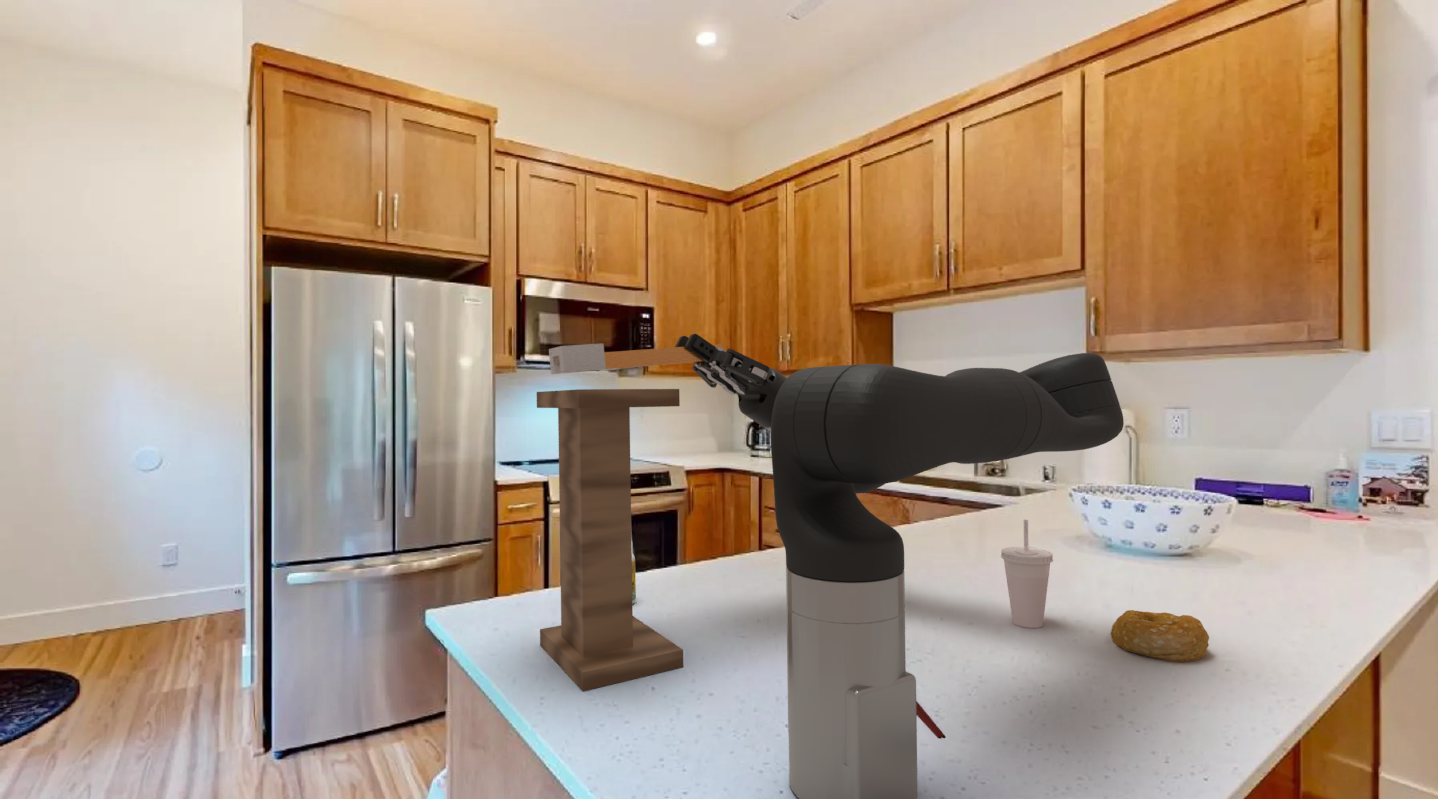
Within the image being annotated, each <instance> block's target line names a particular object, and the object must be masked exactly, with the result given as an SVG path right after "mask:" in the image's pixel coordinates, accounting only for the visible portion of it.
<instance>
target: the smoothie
mask: <svg viewBox="0 0 1438 799" xmlns="http://www.w3.org/2000/svg"><path fill="white" fill-rule="evenodd" d="M1000 552H1001V554H1000V558H1001V559H1003V563H1004V570H1005V578H1006V585H1007V590H1008V598H1009V605H1010V612H1011V618H1012V623H1013V624H1014V625H1016V626H1018V627H1023V628H1026V629H1028V628H1029V629H1037V628H1041V627H1043V626H1044V619H1045V611H1046V603H1047V595H1048V594H1047V593H1048V584H1049V577H1050V567H1051V563H1053V562H1054V559H1053V556H1054V555H1053V553H1052V551H1050V550H1047V549H1044V548H1038V547H1032V546H1029V520H1028V519H1023V546H1009V547H1008V546H1007V547H1004V548H1002V549H1001V551H1000Z"/></svg>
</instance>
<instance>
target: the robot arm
mask: <svg viewBox="0 0 1438 799" xmlns="http://www.w3.org/2000/svg"><path fill="white" fill-rule="evenodd" d="M689 335H690V336H689V337H688V336H687V335H682V336H679V338H678V340H677V341H676V344H675V346H674V347H686V348H687V349H688V350H689V351H691V352H692V353H694V354H695V355H697V356H698V357H700V358H701V359H703V360H704V361H700V362H693V366H692V370H693V371H694V373H696V374H697V375H698V376H699V377H700V378H701V379H702V380H703V381H704V382H705V383H706V384H707V385H708V386H709V387H710V388H713V389H715V388H717V385H718V386H720V387H722V389H723V391H725V392H727V393H729V394H730V395H737V397H738V408H739V411H740V412H741V413H742V414H743V415H744V416H746V417H748V418H749V419H750V420H752V421H754V422H755V423H757V424H759V425H760V426H762V427H763V428H765V429H766V430H768V431H769V432H770V448H771V464H772V467H771V468H772V479H773V480H772V482H773V490H774V491H773V494H774V496H773V497H774V512H775V520H776V527H777V531H778V533H779V537H780V538H781V540H782V544H783V546H784V551H785V565H786V567H785V573H786V574H785V577H786V579H785V581H786V582H785V583H786V584H785V586H786V595H785V596H786V655H787V656H786V657H787V659H786V662H787V664H786V667H787V670H786V673H787V676H786V678H787V728H788V730H787V731H788V732H787V733H788V768H789V770H788V773H789V774H788V776H789V777H788V778H789V779H788V780H789V785H790V788H791V790H792V792H793V793H794V795H795V796H796V798H798V799H919V798H918V796H919V795H918V793H919V791H918V739H917V738H918V735H917V734H918V733H917V732H918V730H917V728H918V726H917V717H918V716H917V715H916V701H917V678H916V676H915V675H914V674H913V673H910V672H909V671H907V669H906V666H907V664H906V663H907V662H906V614H905V613H906V610H905V609H906V600H905V599H906V597H905V596H906V594H905V590H906V589H905V586H906V585H905V582H906V581H905V545H904V541H903V538H902V536H901V534H900V532H898V531H897V530H896V529H895V528H894V527H893V526H891V525H889V524H888V523H886V522H884V521H883V520H881V519H880V518H879V517H877V516H875V515H874V514H873V513H872V512H870V511H869V509H868V508H867V507H866V506H865V505H864V504H863V503H862V502H861V500H860V499H859V497H858V496H857V494H858V495H859V494H865V493H869V492H872V491H874V490H876V489H878V488H881V487H882V486H884V485H886V484H891V483H895V482H899V481H903V480H904V479H908V478H911V477H913V476H916V475H919V474H921V473H924V472H926V471H929V470H932V469H935V468H938V467H941V466H944V465H947V464H953V463H957V464H961V465H964V464H965V465H971V464H986V463H991V462H998V461H1004V460H1005V461H1006V460H1009V459H1013V458H1018V457H1022V456H1027V455H1031V454H1035V453H1044V452H1045V453H1046V452H1047V453H1048V452H1049V453H1050V452H1054V453H1055V452H1056V453H1057V452H1059V453H1060V452H1074V451H1075V452H1076V451H1083V450H1088V449H1093V448H1096V447H1099V446H1102V445H1105V444H1106V443H1109V442H1112V441H1113V440H1114V439H1115V438H1117V437H1118V436H1119V434H1121V433H1122V431H1123V429H1124V421H1125V420H1124V415H1123V410H1122V408H1121V407H1122V406H1121V405H1120V401H1119V398H1118V395H1117V392H1116V390H1115V386H1114V384H1113V381H1112V377H1111V375H1110V372H1109V369H1108V366H1107V364H1106V361H1105V359H1104V358H1103V357H1102V356H1101V355H1099V354H1097V353H1090V352H1081V353H1074V354H1068V355H1065V356H1060V357H1057V358H1056V357H1055V358H1054V359H1051V360H1048V361H1044V362H1042V363H1039V364H1037V365H1034V366H1031V367H1029V368H1027V369H1025V370H1022V371H1020V372H1019V371H1017V370H1014V369H1009V368H1003V367H1000V368H999V367H996V368H995V367H971V368H963V369H958V370H954V371H952V372H950V373H948V374H946V375H945V376H944V375H937V374H932V373H926V372H922V371H917V370H912V369H908V368H903V367H899V366H894V365H888V364H880V363H861V364H845V365H831V366H830V365H827V366H814V367H806V368H802V369H799V370H796V371H795V372H793V373H792V374H790V375H789V376H788V377H786V376H785V375H784V374H782V373H781V372H779V371H778V370H776V369H775V368H773V367H770V366H767V365H766V364H764V363H761V362H759V361H757V360H755V359H753V358H751V357H749V356H746V355H745V354H743V353H740V352H738V351H736V350H735V349H733V348H727V349H726V350H725V349H724V347H723V348H721V347H717V348H716V347H715V346H713V345H714V344H712V343H711V342H709V341H707V340H706V339H705V338H703V337H702V336H701V335H699V334H698V333H692V334H689Z"/></svg>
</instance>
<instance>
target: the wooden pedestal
mask: <svg viewBox="0 0 1438 799" xmlns="http://www.w3.org/2000/svg"><path fill="white" fill-rule="evenodd" d="M680 401H681V400H680V388H624V389H623V388H621V389H620V388H618V389H617V388H616V389H615V388H614V389H612V388H610V389H605V388H602V389H598V388H596V389H593V388H592V389H586V388H585V389H581V388H580V389H578V388H577V389H565V390H563V389H562V390H548V391H547V390H545V391H536V408H538V409H557V410H558V411H557V415H558V416H557V417H558V418H557V419H558V420H557V424H558V429H557V430H558V484H559V486H558V488H559V493H558V494H559V498H558V499H559V552H560V553H559V556H560V557H559V561H560V562H559V563H560V566H559V567H560V568H559V569H560V620H561V622H560V625H556V626H551V627H544V628H540V629H539V642H540V643H539V646H540V647H541V648H543V650H544V651H545V652H546V653H547V654H548V655H549V656H550V658H551V659H553V661H554V662H555V663H556V664H557V665H558V666H559V668H560V669H562V670H563V672H564V673H565V674H566V675H567V676H568V677H569V678H570V679H571V680H572V681H573V682H574V683H575V685H576V686H577V687H578V688H579V689H580V690H581V691H582V692H586V691H590V690H593V689H599V688H602V687H607V686H610V685H615V684H618V683H623V682H627V681H632V680H636V679H638V678H643V677H646V676H647V677H648V676H651V675H656V674H659V673H660V674H661V673H664V672H668V671H672V670H676V669H681V668H684V649H683V648H682V647H680V646H679V645H677V644H676V643H674V642H672V641H671V640H669V639H668V638H667V637H665V636H664V635H662V634H660V633H659V632H657V631H656V630H655V629H653V628H652V627H650V626H649V625H647V624H645V623H644V622H643V621H641V620H640V619H638V618H637V617H636V616H634V615H633V604H632V554H633V552H632V549H633V547H632V492H631V490H632V489H631V488H632V487H631V485H632V483H631V482H632V481H631V480H632V478H631V428H630V427H631V425H630V424H631V422H630V421H631V420H630V419H631V417H630V416H631V415H630V414H631V413H630V412H631V411H630V408H661V407H663V408H664V407H669V408H670V407H680Z"/></svg>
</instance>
